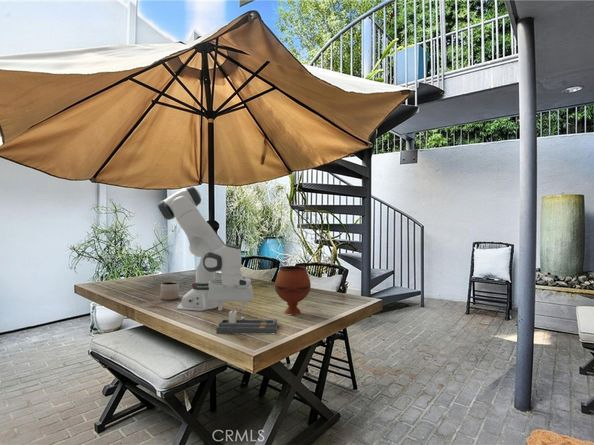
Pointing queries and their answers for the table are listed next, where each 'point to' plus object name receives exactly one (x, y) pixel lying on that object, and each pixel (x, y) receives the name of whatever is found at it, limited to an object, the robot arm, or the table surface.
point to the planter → (169, 290)
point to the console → (247, 326)
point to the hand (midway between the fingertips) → (230, 310)
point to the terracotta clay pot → (292, 286)
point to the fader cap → (233, 316)
